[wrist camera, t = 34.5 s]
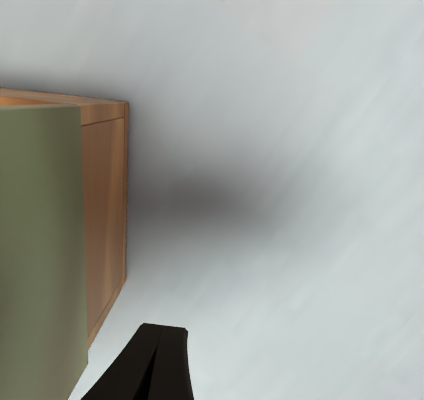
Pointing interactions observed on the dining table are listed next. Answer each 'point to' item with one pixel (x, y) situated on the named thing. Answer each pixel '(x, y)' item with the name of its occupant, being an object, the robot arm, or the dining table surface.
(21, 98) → the open wooden box
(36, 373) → the lid
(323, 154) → the dining table surface
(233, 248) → the dining table surface
